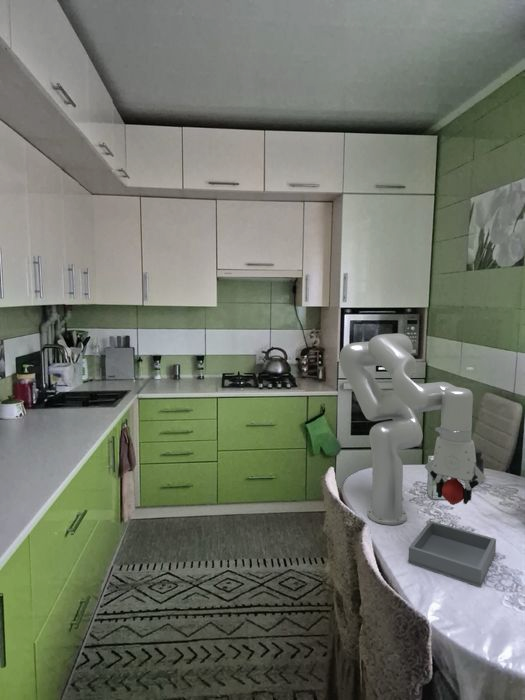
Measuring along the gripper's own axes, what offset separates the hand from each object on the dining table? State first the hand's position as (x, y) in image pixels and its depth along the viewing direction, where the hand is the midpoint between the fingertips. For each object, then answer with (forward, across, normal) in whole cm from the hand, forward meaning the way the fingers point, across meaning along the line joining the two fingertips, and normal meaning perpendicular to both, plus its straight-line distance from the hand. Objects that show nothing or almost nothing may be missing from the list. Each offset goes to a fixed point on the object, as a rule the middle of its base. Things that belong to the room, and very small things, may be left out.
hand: (453, 498), depth 123 cm
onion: (+2, 0, 0) cm, 2 cm away
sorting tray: (+17, 0, 0) cm, 17 cm away
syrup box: (+18, -15, +37) cm, 44 cm away
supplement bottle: (+18, -8, +60) cm, 63 cm away
